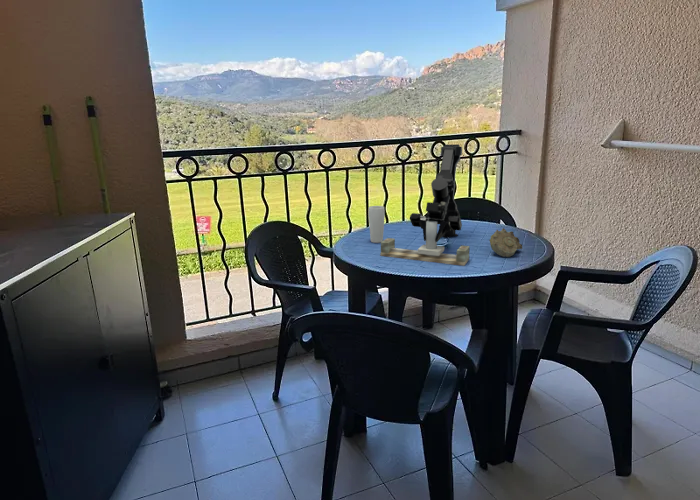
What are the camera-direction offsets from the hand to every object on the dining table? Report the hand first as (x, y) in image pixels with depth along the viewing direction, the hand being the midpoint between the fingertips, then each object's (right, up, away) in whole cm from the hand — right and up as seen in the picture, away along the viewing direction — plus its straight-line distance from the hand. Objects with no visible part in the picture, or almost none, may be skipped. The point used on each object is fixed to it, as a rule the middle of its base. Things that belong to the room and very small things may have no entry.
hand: (430, 241), depth 160 cm
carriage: (+1, -4, +2) cm, 5 cm away
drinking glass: (-18, 0, +27) cm, 33 cm away
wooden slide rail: (-2, -6, +4) cm, 8 cm away
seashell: (+30, -5, +7) cm, 31 cm away
